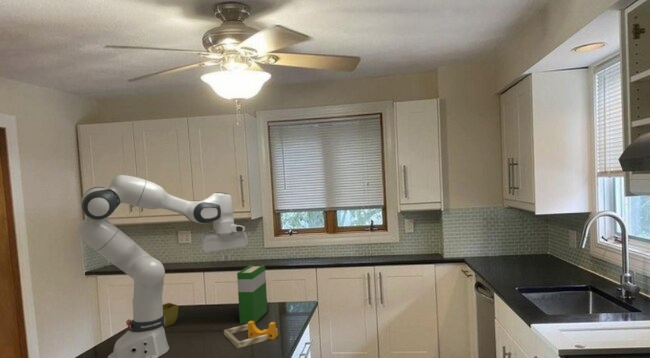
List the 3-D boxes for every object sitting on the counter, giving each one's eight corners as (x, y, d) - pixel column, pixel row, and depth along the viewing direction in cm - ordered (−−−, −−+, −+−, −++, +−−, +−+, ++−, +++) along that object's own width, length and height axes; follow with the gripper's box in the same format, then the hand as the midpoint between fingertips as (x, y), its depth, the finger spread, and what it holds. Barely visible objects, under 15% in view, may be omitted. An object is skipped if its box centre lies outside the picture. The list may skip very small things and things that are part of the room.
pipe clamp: (277, 335, 172) (277, 320, 172) (274, 339, 168) (273, 324, 168) (252, 333, 176) (252, 319, 176) (248, 337, 171) (247, 322, 171)
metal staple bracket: (237, 348, 161) (236, 343, 161) (223, 334, 176) (223, 330, 176) (268, 339, 168) (267, 335, 168) (252, 327, 183) (252, 322, 183)
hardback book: (253, 310, 206) (251, 264, 206) (267, 310, 205) (264, 264, 205) (239, 323, 189) (237, 273, 189) (254, 323, 188) (251, 273, 187)
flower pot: (163, 329, 186) (162, 310, 186) (153, 326, 191) (152, 307, 191) (179, 323, 193) (178, 305, 193) (169, 320, 198) (168, 302, 198)
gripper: (202, 232, 167) (203, 265, 167) (248, 226, 178) (250, 257, 178) (198, 230, 173) (200, 262, 173) (243, 225, 183) (245, 255, 183)
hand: (225, 260), depth 175 cm, fingers closed
